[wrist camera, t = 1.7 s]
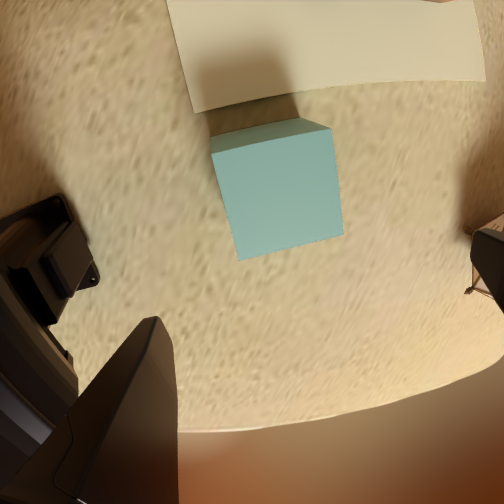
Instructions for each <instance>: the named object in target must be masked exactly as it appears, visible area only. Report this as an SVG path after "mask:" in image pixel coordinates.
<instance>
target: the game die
mask: <svg viewBox="0 0 504 504" xmlns="http://www.w3.org/2000/svg"><path fill="white" fill-rule="evenodd" d="M463 228H464V230H465V233H468V234H471V237H472V238H473V234H474V232H475V231H476V230H478V229H482V228H489V229H493V230H497V231H501V232H504V212H503V213H502V214H500V215H499V216H497V217H495V218H494V219H492V220H491V221H489V222H487V223H486V224H484V225H482V226H481V227H479V228H478V229H476V230H474V231H472V230H471V228H469V226H468V227H463ZM473 290H476V291H478V292H480V293H482V294H484V295H486V296H488V297H490V298H492V299H494V298H493V297H492V295H491V293H490V292H489V290H488V288H487V287H486V285H485V283H484V282H483V280H482V278H481V277H480V275H479V273H478V272H477V270H476V269H475V267H474V265H473V264H472V287H469V288H468V289H466V291H465V293H464V294H469V295H470V293H472V291H473Z"/></svg>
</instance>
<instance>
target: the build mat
mask: <svg viewBox="0 0 504 504" xmlns="http://www.w3.org/2000/svg"><path fill="white" fill-rule="evenodd" d="M166 2H167V6H168V10H169V14H170V19H171V23H172V27H173V31H174V35H175V39H176V43H177V47H178V51H179V55H180V59H181V63H182V67H183V71H184V75H185V79H186V83H187V87H188V91H189V95H190V99H191V103H192V107H193V111H194V114H196V113H199V112H203V111H207V110H211V109H215V108H219V107H223V106H227V105H232V104H236V103H241V102H245V101H250V100H255V99H260V98H265V97H270V96H275V95H281V94H287V93H293V92H299V91H305V90H312V89H319V88H327V87H335V86H344V85H354V84H364V83H377V82H393V81H420V80H455V81H480V82H486V75H485V66H484V58H483V51H482V45H481V39H480V33H479V28H478V23H477V18H476V13H475V9H474V5H473V1H472V0H455V1H449V2H444V3H436V2H430V1H423V0H166Z"/></svg>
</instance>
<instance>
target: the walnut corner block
mask: <svg viewBox="0 0 504 504" xmlns="http://www.w3.org/2000/svg"><path fill="white" fill-rule="evenodd" d="M423 1H430V2H436V3H444V2H449V1H455V0H423Z"/></svg>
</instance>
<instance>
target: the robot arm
mask: <svg viewBox="0 0 504 504" xmlns="http://www.w3.org/2000/svg"><path fill="white" fill-rule="evenodd" d="M56 199H57V200H59V201H60V205H58V204H57V203H56V201H55V200H56ZM92 259H93V256H92V254H91V252H90V250H89V248H88V245H87V243H86V241H85V239H84V237H83V234H82V232H81V230H80V227H79V225H78V224H77V223H76V222H75V221H74V218H73V216H72V213H71V211H70V209H69V206H68V204H67V201H66V199H65V197H64V195H62V194H60V193H56V194H53V195H51V196H49V197H46V198H44V199H42V200H39V201H37V202H35V203H32V204H30V205H28V206H26V207H23V208H21V209H19V210H17V211H15V212H13V213H10V214H8V215H6V216H4V217H2V218H0V504H179V494H178V493H179V492H178V451H177V450H178V448H177V447H178V445H177V444H178V439H177V428H178V397H177V386H176V376H175V365H174V353H173V344H172V341H171V338H170V336H169V334H168V332H167V330H166V328H165V326H164V324H163V322H162V320H161V319H160V318H159V317H158V316H153V317H148V318H144V319H143V320H142V321H141V322H140V323H139V324H138V325H137V326H136V328H135V329H134V330H133V331H132V332H131V334H130V335H129V336H128V337H127V338H126V340H125V341H124V342H123V343H122V344H121V346H120V347H119V348H118V349H117V351H116V352H115V353H114V354H113V355H112V357H111V358H110V359H109V360H108V362H107V363H106V364H105V365H104V366H103V368H102V369H101V370H100V371H99V373H98V374H97V375H96V376H95V378H94V379H93V380H92V381H91V383H90V384H89V385H88V386H87V388H86V389H85V390H84V391H83V393H82V394H81V395H80V396H78V393H79V392H78V377H77V375H76V373H75V370H74V368H73V357H72V356H71V354H70V353H69V352H68V351H67V350H64V348H63V347H62V346H61V345H60V343H59V342H58V341H57V339H56V338H55V337H54V336H53V334H52V333H51V332H50V330H49V327H50V325H53V324H56V323H57V322H58V320H59V318H60V316H61V314H62V312H63V310H64V308H65V306H66V304H67V302H68V300H69V298H72V297H73V295H74V293H75V292H76V291H78V290H82V289H86V288H90V287H94V286H96V285H97V284H98V283H99V281H100V275H99V273H98V271H97V269H96V267H95V265H94V263H93V261H92ZM470 259H471V262H472V264H473V265H474V267H475V269H476V270H477V272H478V273H479V275H480V277H481V278H482V280H483V282H484V283H485V285H486V287H487V288H488V290H489V292H490V293H491V295H492V297H493V298H494V300H495V302H496V303H497V305H498V306H499V308H500V309H501V310H502V312H503V313H504V232H501V231H497V230H493V229H489V228H482V229H478V230H476V231H475V232H474V234H473V238H472V245H471V251H470ZM90 277H94V279H95V280H92V279H91V278H90Z"/></svg>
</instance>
